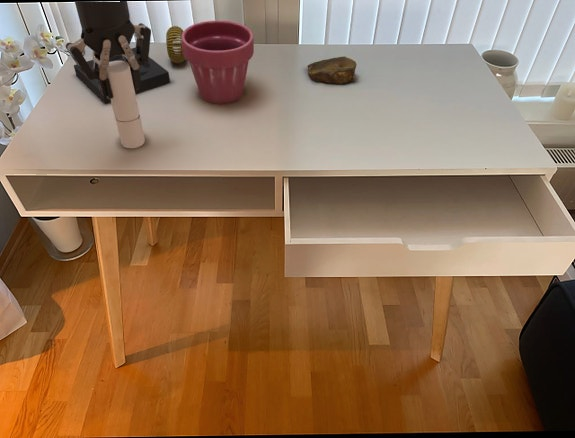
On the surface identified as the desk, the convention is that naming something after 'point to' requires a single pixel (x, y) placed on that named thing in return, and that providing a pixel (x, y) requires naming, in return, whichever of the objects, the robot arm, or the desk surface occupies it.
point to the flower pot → (218, 58)
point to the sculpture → (174, 44)
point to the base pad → (149, 72)
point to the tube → (125, 104)
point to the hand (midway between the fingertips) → (121, 92)
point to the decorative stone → (333, 70)
